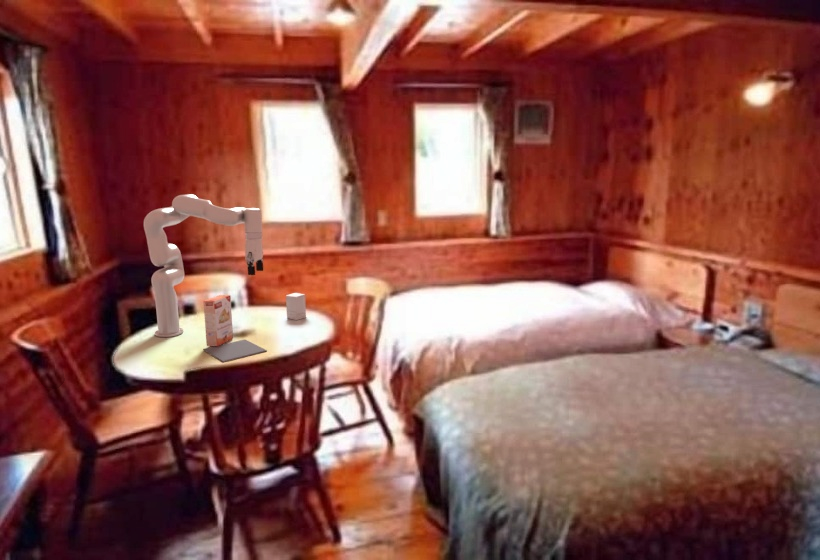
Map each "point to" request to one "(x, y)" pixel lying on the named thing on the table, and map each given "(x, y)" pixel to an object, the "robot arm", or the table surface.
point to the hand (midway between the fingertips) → (255, 272)
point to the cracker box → (218, 320)
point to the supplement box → (296, 306)
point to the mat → (234, 350)
